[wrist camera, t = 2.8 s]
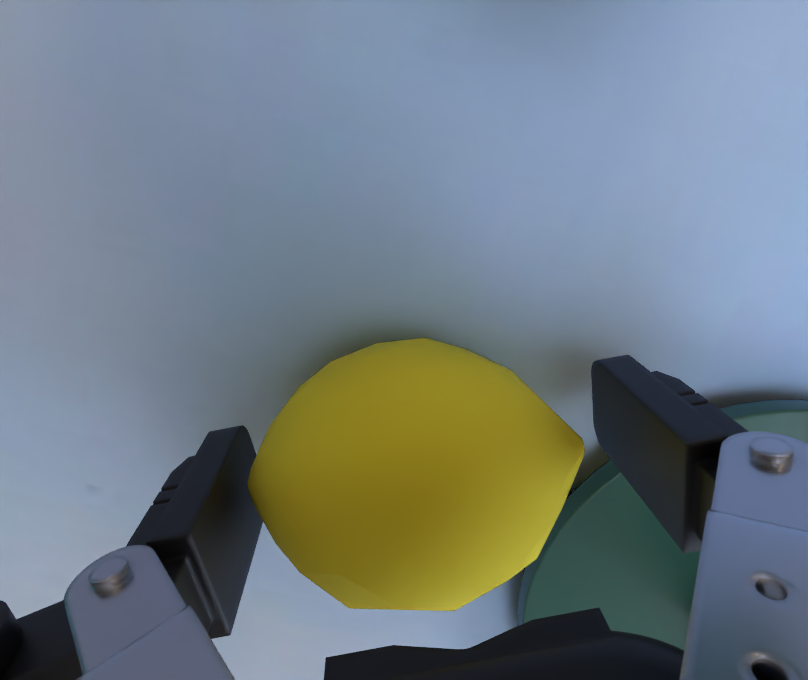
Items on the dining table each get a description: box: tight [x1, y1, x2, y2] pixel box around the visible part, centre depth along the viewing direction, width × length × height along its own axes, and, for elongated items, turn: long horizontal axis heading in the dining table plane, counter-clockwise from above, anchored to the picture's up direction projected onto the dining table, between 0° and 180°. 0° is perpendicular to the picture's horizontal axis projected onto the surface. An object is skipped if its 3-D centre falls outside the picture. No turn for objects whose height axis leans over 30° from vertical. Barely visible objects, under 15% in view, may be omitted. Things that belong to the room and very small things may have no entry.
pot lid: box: [518, 400, 808, 650], centre depth 13 cm, size 13×13×6 cm
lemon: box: [247, 338, 585, 611], centre depth 11 cm, size 7×5×5 cm
